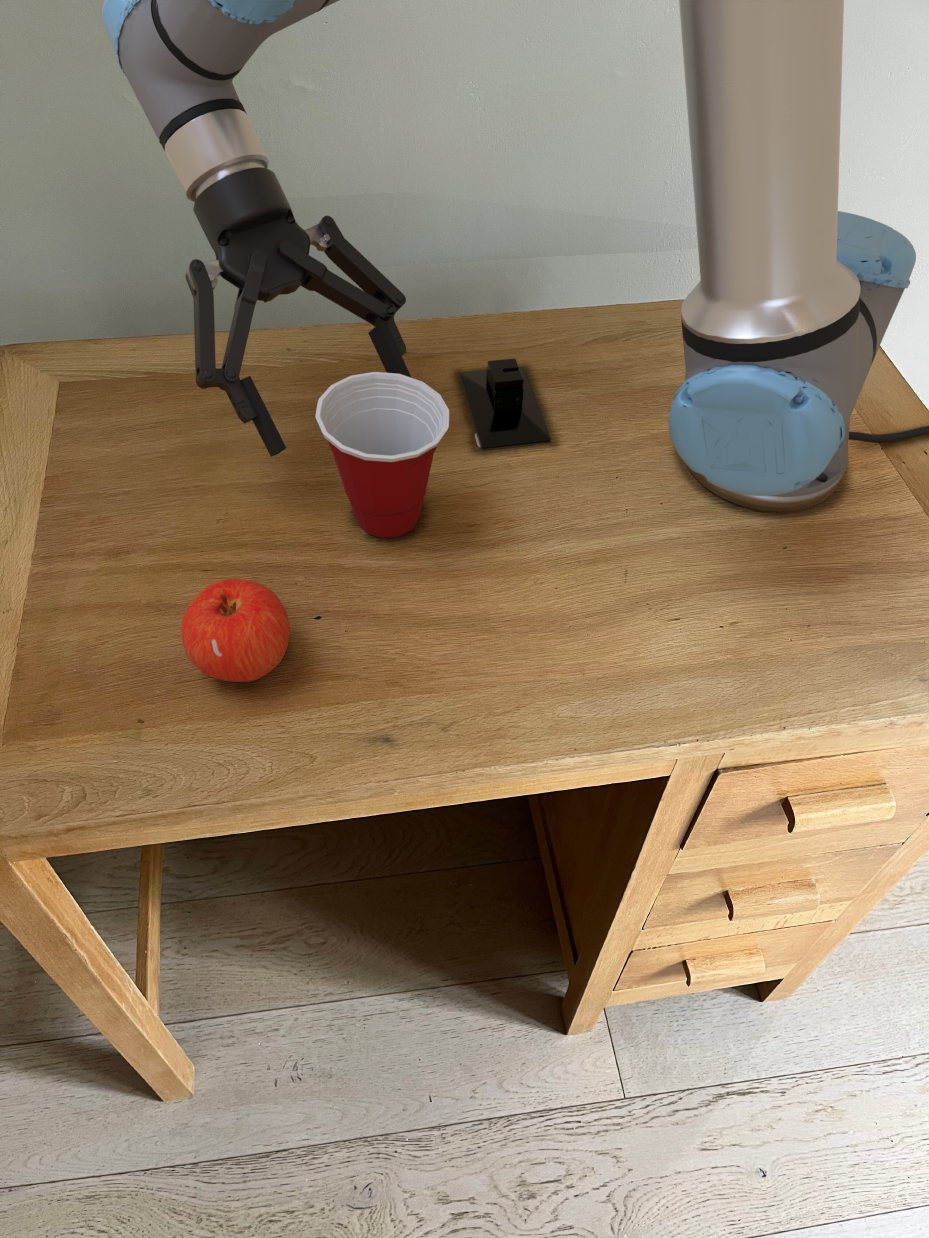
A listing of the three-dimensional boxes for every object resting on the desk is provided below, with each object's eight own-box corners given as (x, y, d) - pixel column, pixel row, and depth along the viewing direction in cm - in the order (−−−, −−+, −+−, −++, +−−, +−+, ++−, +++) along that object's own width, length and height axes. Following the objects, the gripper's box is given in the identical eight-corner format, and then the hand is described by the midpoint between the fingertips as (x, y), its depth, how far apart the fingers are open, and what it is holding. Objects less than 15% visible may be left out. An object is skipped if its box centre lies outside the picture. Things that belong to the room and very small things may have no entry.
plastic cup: (435, 569, 74) (433, 463, 65) (315, 549, 75) (296, 442, 66) (460, 485, 81) (462, 378, 72) (350, 468, 82) (337, 360, 73)
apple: (279, 708, 65) (261, 645, 59) (178, 691, 66) (149, 627, 60) (309, 627, 70) (295, 560, 64) (214, 612, 71) (192, 546, 65)
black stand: (550, 443, 85) (555, 405, 81) (478, 451, 84) (480, 413, 80) (522, 368, 93) (525, 330, 89) (456, 375, 92) (456, 337, 88)
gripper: (343, 168, 80) (440, 382, 84) (85, 248, 70) (210, 485, 75) (371, 127, 73) (474, 361, 78) (90, 209, 63) (228, 472, 68)
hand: (345, 423), depth 76 cm, fingers open, 13 cm apart
